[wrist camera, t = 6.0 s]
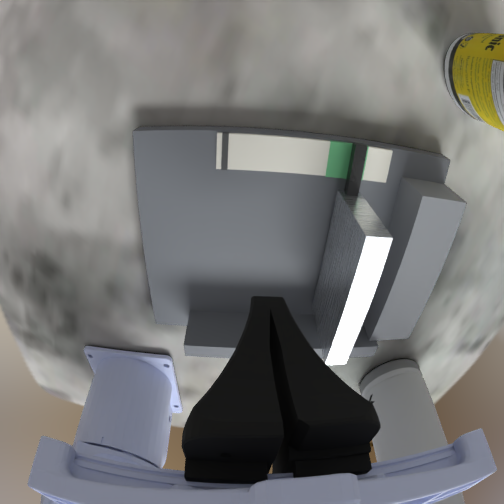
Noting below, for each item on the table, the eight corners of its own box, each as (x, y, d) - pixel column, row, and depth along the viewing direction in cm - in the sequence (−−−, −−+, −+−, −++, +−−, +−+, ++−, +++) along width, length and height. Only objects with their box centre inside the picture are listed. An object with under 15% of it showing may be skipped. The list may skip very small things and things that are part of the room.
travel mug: (344, 383, 28) (380, 583, 11) (404, 348, 25) (467, 557, 9) (373, 401, 30) (408, 569, 14) (425, 371, 28) (479, 544, 11)
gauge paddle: (329, 306, 20) (345, 364, 16) (312, 306, 20) (324, 365, 16) (368, 143, 15) (409, 177, 11) (345, 140, 14) (381, 173, 11)
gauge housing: (386, 318, 23) (402, 358, 20) (158, 313, 22) (147, 357, 19) (441, 154, 16) (480, 180, 13) (138, 126, 15) (110, 147, 12)
